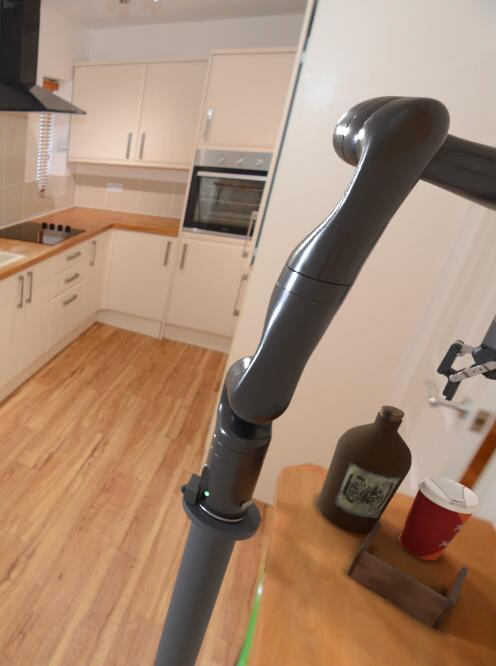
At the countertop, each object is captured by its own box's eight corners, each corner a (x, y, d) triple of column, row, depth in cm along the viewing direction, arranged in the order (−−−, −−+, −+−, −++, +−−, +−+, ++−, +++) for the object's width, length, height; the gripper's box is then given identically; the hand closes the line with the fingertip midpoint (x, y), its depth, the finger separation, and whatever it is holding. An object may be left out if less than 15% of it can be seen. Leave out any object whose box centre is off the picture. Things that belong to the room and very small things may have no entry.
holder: (346, 573, 79) (358, 550, 76) (365, 544, 84) (377, 521, 82) (437, 630, 70) (454, 605, 68) (452, 593, 76) (468, 569, 73)
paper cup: (453, 572, 79) (492, 514, 73) (398, 555, 82) (430, 498, 76) (436, 538, 85) (470, 481, 79) (385, 523, 88) (414, 468, 82)
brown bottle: (311, 486, 97) (351, 387, 86) (373, 505, 92) (424, 403, 82) (315, 522, 89) (360, 417, 78) (383, 545, 84) (442, 437, 73)
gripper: (459, 314, 73) (421, 399, 80) (600, 347, 63) (542, 441, 69) (471, 303, 77) (434, 385, 84) (606, 332, 66) (550, 423, 73)
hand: (483, 410), depth 77 cm, fingers open, 8 cm apart
